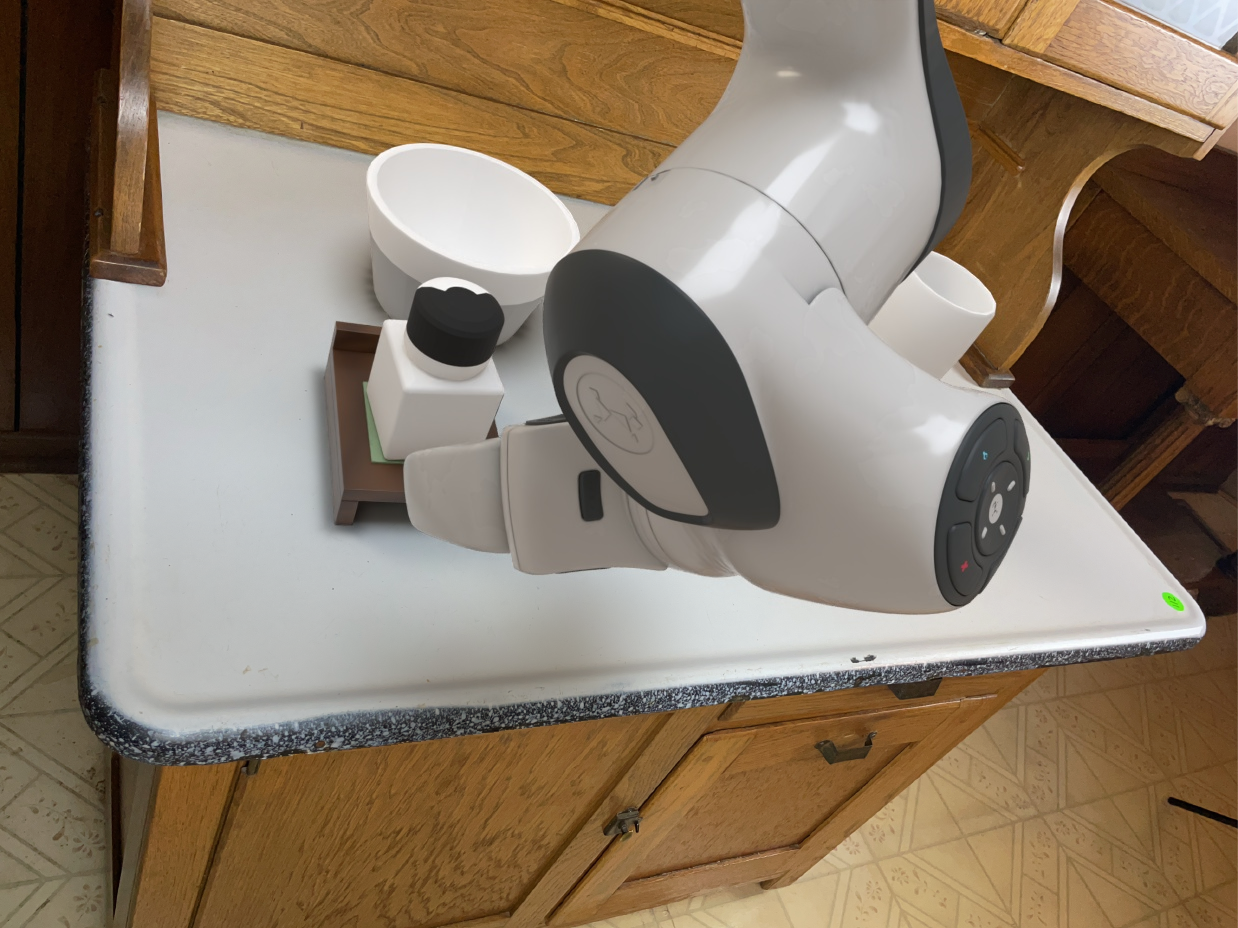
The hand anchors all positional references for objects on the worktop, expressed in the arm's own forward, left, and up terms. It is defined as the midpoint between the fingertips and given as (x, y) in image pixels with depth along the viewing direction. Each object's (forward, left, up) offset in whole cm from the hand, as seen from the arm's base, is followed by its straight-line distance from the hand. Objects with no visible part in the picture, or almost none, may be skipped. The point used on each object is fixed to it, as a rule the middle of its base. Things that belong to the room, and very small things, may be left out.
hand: (524, 457), depth 51 cm
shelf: (-3, +13, -14) cm, 19 cm away
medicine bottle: (-3, +12, -10) cm, 15 cm away
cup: (+41, +18, -14) cm, 47 cm away
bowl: (+3, +33, -14) cm, 36 cm away
